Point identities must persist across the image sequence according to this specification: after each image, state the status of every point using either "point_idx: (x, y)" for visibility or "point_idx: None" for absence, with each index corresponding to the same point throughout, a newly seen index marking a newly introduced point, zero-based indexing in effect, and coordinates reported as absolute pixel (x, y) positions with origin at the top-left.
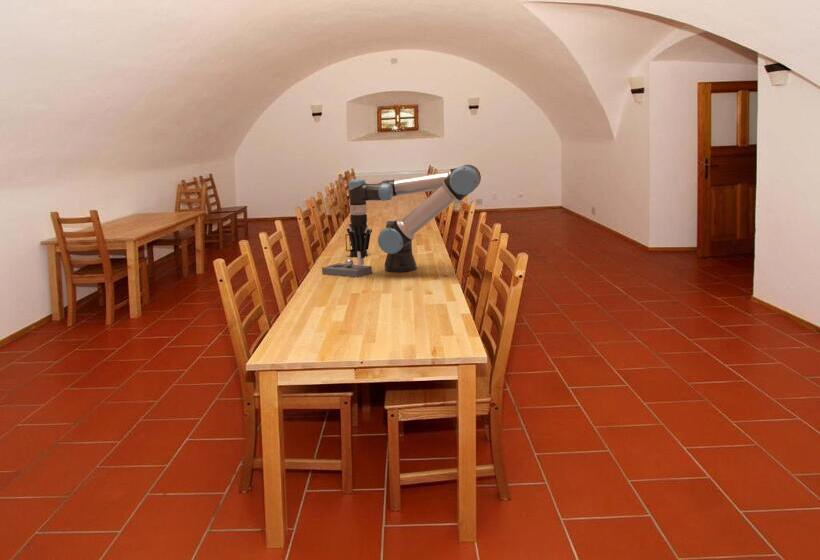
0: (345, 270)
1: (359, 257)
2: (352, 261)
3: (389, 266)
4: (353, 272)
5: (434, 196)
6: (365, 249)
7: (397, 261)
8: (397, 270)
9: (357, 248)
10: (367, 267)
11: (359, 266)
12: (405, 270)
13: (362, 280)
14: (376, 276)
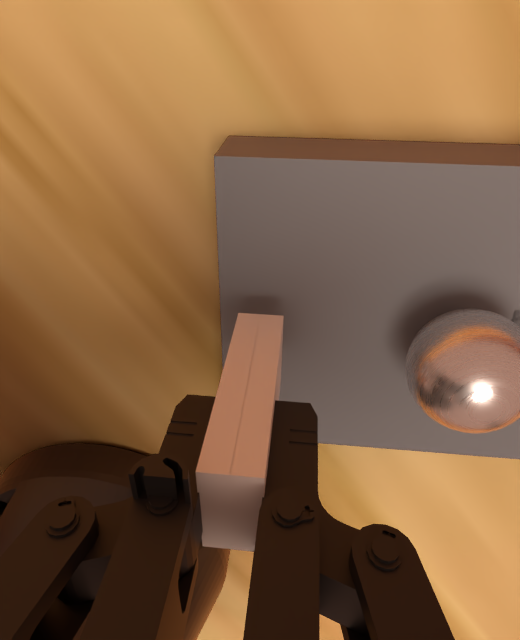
0: (418, 160)
1: (232, 389)
2: (415, 389)
3: (99, 482)
4: (269, 151)
5: None
6: (45, 518)
7: (8, 531)
8: (40, 456)
9: (256, 543)
10: None
11: (348, 397)
12: (2, 475)
13: (46, 11)
14: (74, 268)
